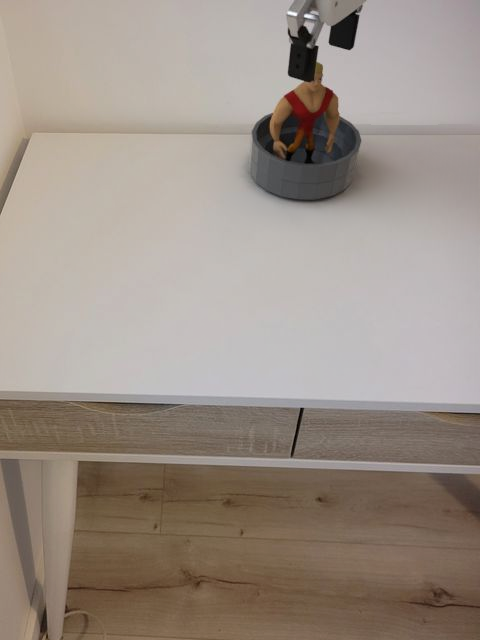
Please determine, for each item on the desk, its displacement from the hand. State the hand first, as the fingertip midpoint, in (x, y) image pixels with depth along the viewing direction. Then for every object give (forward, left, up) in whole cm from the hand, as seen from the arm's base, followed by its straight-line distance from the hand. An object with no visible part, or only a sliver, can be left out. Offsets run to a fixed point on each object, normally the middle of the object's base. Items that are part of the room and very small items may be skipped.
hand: (321, 62), depth 73 cm
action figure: (+1, 0, -15) cm, 15 cm away
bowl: (0, 0, -15) cm, 15 cm away
